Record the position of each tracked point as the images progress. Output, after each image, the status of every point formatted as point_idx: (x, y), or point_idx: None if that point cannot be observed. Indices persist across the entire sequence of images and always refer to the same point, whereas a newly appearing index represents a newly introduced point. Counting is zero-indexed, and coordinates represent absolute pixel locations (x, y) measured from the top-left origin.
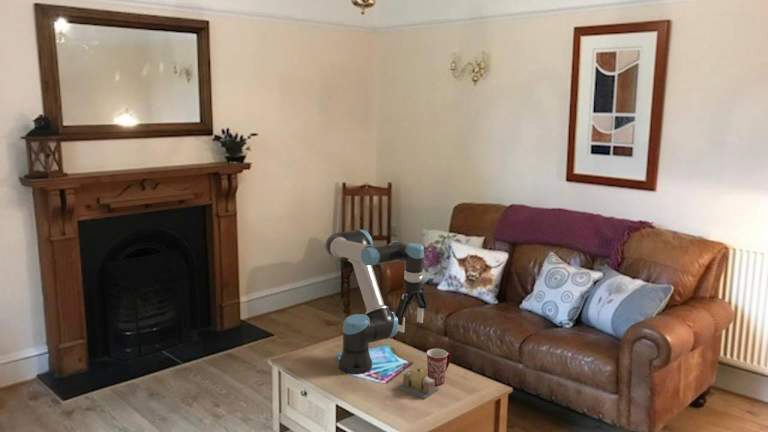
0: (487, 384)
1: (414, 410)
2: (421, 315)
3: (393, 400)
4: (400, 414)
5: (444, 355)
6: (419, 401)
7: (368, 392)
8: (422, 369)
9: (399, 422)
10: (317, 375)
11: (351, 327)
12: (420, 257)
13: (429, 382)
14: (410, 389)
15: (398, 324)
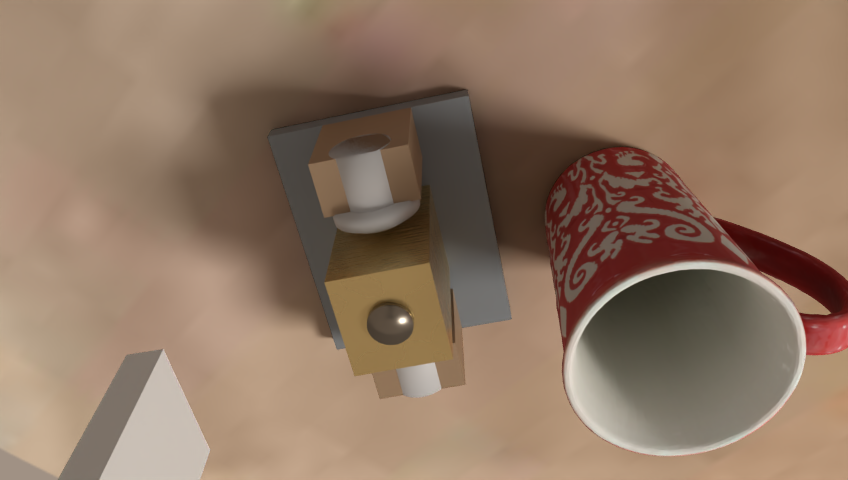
0: (841, 437)
1: (185, 392)
2: None
3: (131, 226)
4: (75, 377)
5: (758, 357)
6: (288, 337)
7: (5, 5)
8: (426, 323)
9: (21, 431)
10: None
11: None
12: None
13: (393, 392)
14: (323, 215)
15: (69, 467)
